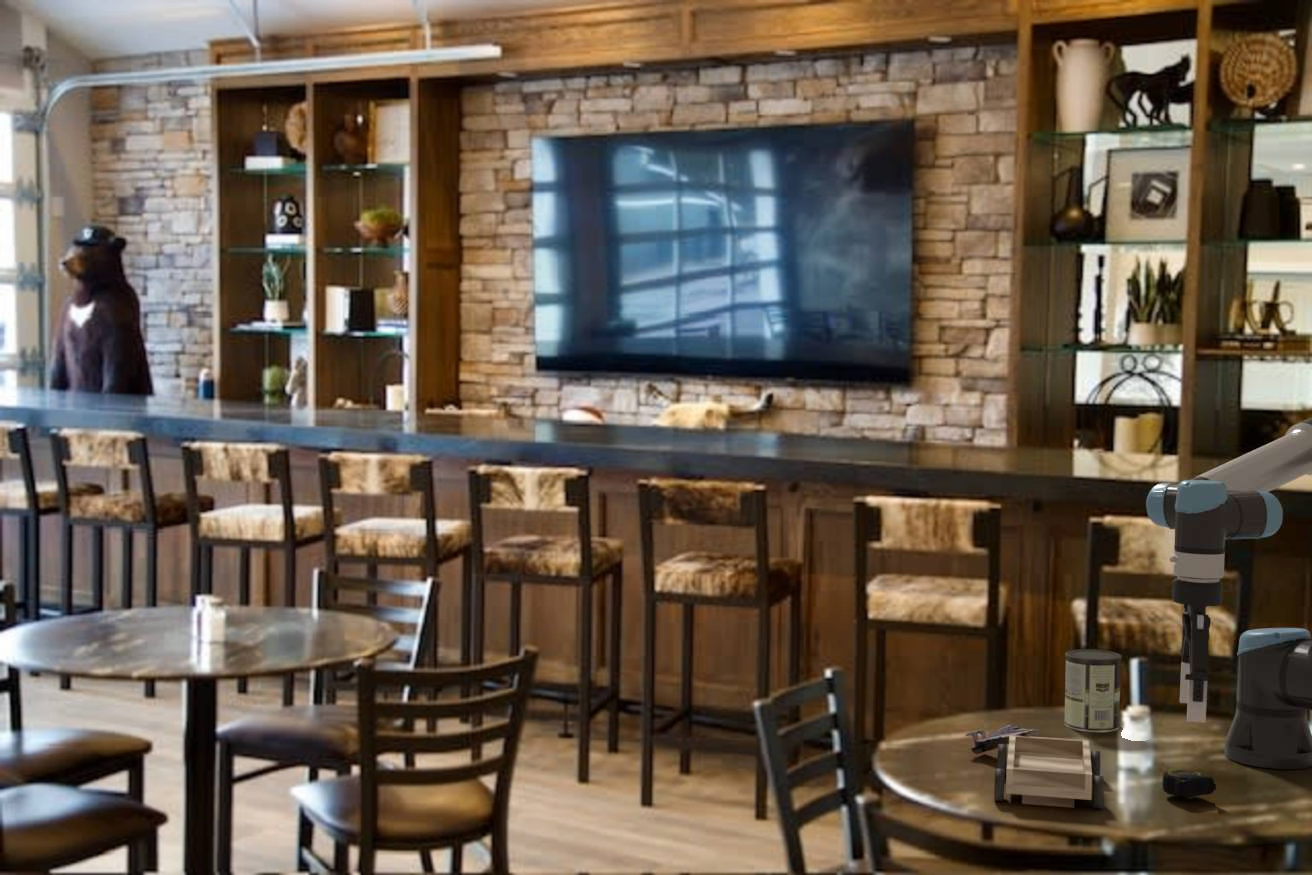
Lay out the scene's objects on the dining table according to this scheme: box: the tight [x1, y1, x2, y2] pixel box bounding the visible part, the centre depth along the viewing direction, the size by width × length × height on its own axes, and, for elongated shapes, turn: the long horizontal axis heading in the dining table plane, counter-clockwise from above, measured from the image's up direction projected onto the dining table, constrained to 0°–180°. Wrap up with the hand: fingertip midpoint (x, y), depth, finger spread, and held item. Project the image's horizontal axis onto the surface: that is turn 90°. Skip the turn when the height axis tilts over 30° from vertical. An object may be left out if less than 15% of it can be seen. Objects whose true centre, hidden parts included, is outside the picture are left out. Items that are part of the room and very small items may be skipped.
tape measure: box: [1162, 769, 1217, 799], centre depth 260 cm, size 7×7×4 cm
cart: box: [993, 735, 1105, 810], centre depth 264 cm, size 22×17×6 cm
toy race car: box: [965, 724, 1039, 755], centre depth 282 cm, size 13×6×4 cm, turn 42°
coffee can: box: [1064, 648, 1123, 733], centre depth 307 cm, size 10×10×14 cm
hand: (1192, 712), depth 256 cm, fingers open, 13 cm apart
